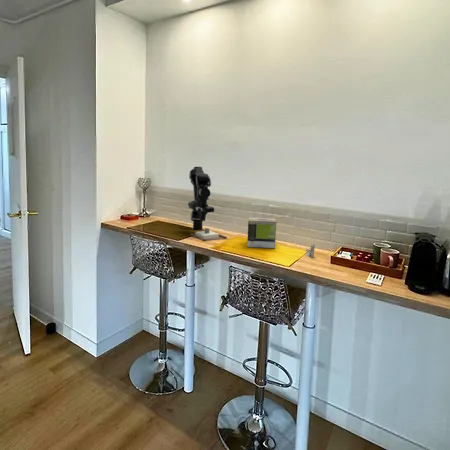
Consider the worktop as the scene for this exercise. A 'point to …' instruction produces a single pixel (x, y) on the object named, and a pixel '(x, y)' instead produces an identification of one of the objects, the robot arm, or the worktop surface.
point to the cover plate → (207, 234)
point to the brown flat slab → (209, 238)
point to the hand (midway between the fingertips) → (201, 221)
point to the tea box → (261, 232)
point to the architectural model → (311, 251)
